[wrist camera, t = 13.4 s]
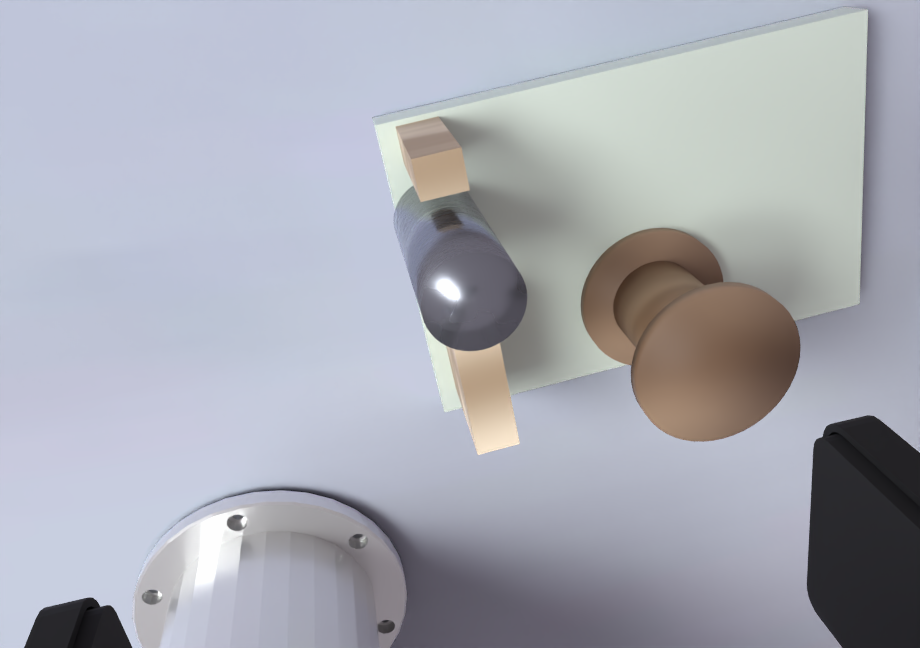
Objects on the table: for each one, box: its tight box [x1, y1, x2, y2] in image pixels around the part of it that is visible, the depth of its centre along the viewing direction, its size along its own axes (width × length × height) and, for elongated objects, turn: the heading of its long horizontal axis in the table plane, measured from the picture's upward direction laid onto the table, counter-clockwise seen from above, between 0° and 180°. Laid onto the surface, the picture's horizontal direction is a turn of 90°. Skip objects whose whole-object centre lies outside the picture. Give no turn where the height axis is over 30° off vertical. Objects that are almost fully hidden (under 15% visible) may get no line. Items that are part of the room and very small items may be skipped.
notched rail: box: [396, 117, 520, 455], centre depth 30 cm, size 11×2×5 cm, turn 11°
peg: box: [394, 186, 527, 351], centre depth 28 cm, size 3×3×8 cm
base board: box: [373, 7, 868, 412], centre depth 33 cm, size 12×19×2 cm, turn 101°
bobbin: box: [581, 228, 800, 441], centre depth 31 cm, size 6×6×6 cm
